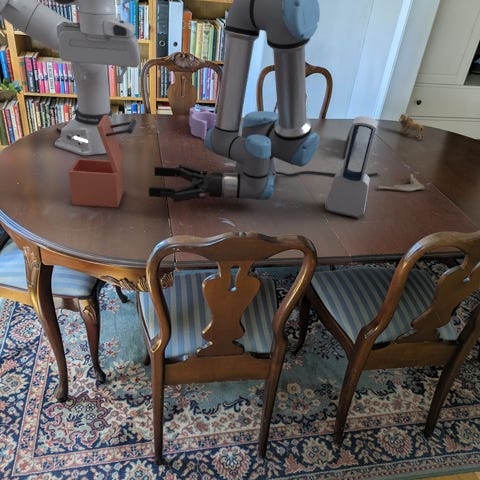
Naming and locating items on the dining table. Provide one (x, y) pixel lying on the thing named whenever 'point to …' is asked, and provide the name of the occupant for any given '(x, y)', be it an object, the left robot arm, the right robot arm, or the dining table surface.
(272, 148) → the right robot arm
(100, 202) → the chest
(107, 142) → the lid
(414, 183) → the jawbone
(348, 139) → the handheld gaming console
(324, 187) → the dining table surface
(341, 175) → the electronic device
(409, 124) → the lion figurine
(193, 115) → the clip
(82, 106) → the left robot arm
